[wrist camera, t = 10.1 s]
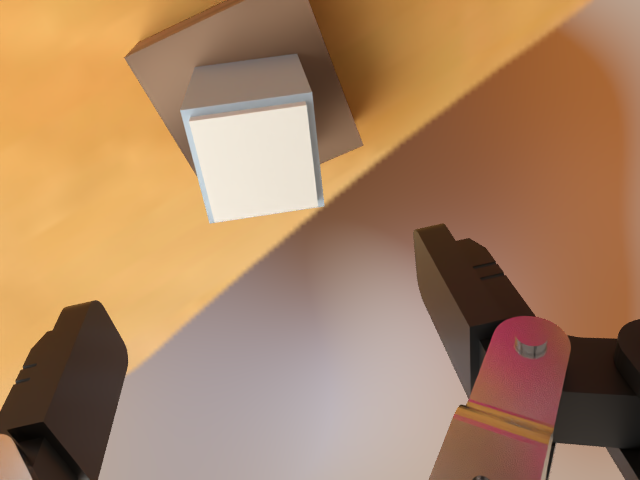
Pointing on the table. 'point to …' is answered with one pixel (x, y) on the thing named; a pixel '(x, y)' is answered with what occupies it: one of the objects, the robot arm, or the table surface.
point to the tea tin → (253, 137)
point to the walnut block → (239, 45)
